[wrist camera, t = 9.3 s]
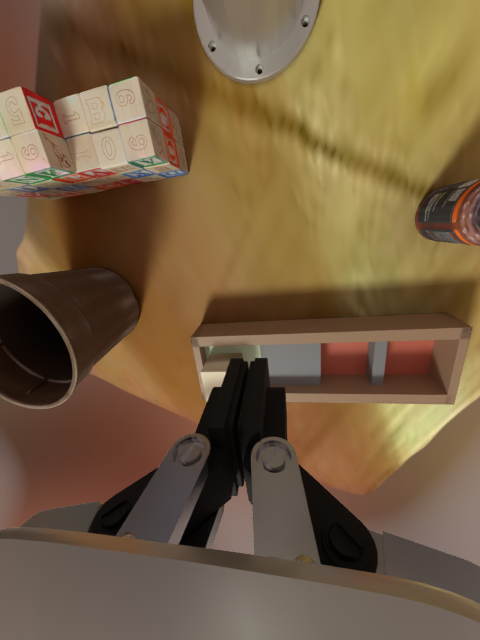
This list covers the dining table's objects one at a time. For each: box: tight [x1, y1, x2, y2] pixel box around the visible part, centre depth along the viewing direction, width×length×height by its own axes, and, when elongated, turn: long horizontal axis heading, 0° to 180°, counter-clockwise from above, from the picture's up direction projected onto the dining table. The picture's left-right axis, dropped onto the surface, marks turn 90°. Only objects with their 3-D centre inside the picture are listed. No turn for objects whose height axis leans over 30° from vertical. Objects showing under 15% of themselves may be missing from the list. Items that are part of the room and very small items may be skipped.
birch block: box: [200, 353, 243, 402], centre depth 36 cm, size 5×5×5 cm
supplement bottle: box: [415, 179, 480, 246], centre depth 24 cm, size 6×6×11 cm
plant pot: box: [0, 267, 139, 409], centre depth 34 cm, size 16×16×16 cm
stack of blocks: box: [0, 76, 188, 199], centre depth 27 cm, size 21×6×12 cm, turn 97°
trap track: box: [191, 313, 472, 404], centre depth 36 cm, size 11×34×5 cm, turn 96°
